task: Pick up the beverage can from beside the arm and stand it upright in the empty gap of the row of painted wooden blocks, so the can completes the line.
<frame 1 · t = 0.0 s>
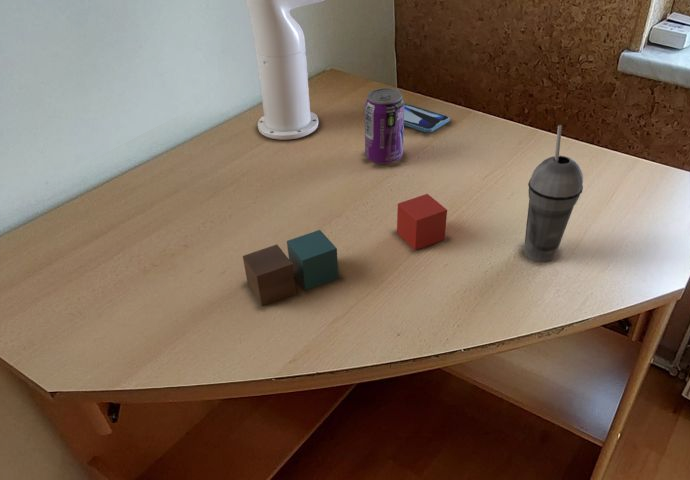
block b: (314, 274, 94), on the table
beverage cup: (539, 254, 94), on the table
block c: (420, 236, 99), on the table
smartphone: (410, 119, 128), on the table
beverage can: (383, 158, 117), on the table
block a: (271, 289, 92), on the table
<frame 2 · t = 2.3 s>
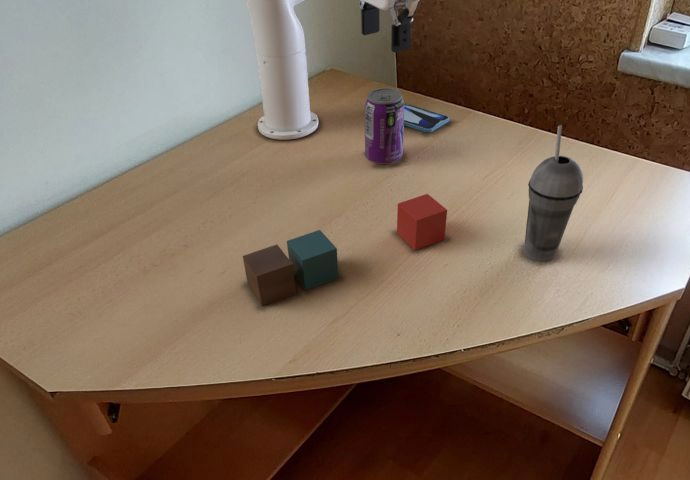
hand: (385, 41, 102), 21 cm above the table, tool pointing down, fingers open, 9 cm apart
nothing on the table moved.
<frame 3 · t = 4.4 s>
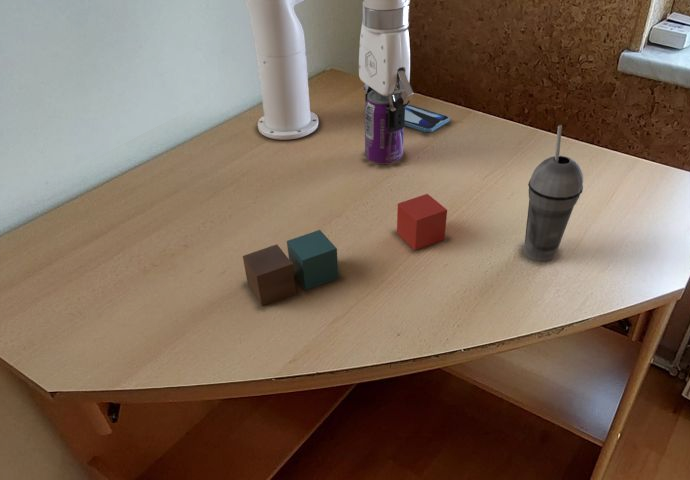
hand: (384, 121, 112), 7 cm above the table, tool pointing down, fingers closed on beverage can, 7 cm apart
beverage can: (383, 158, 117), on the table, touching gripper
everything else where it was.
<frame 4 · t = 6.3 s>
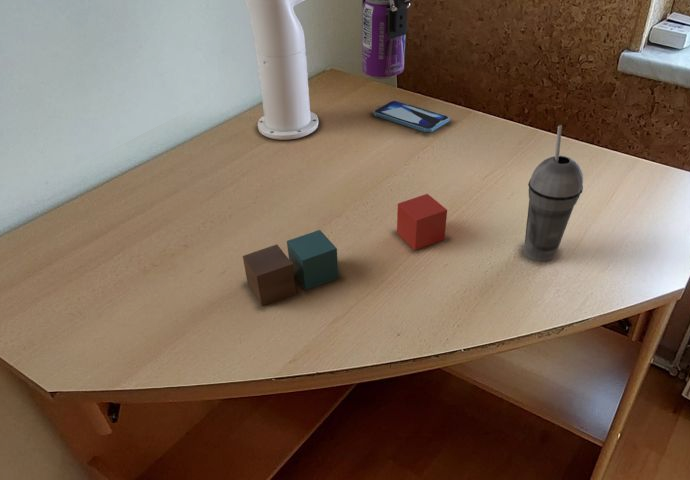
hand: (383, 28, 100), 23 cm above the table, tool pointing down, fingers closed on beverage can, 7 cm apart
beverage can: (382, 74, 106), point 16 cm above the table, touching gripper
everything else where it was.
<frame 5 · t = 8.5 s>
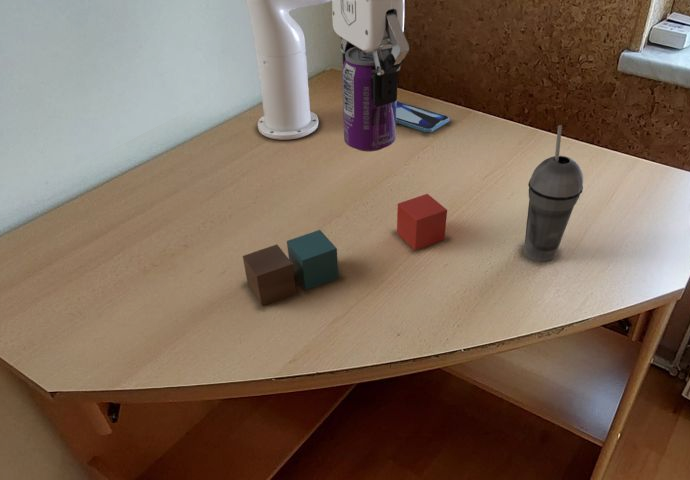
hand: (369, 91, 80), 24 cm above the table, tool pointing down, fingers closed on beverage can, 7 cm apart
beverage can: (369, 144, 86), point 17 cm above the table, touching gripper
everything else where it was.
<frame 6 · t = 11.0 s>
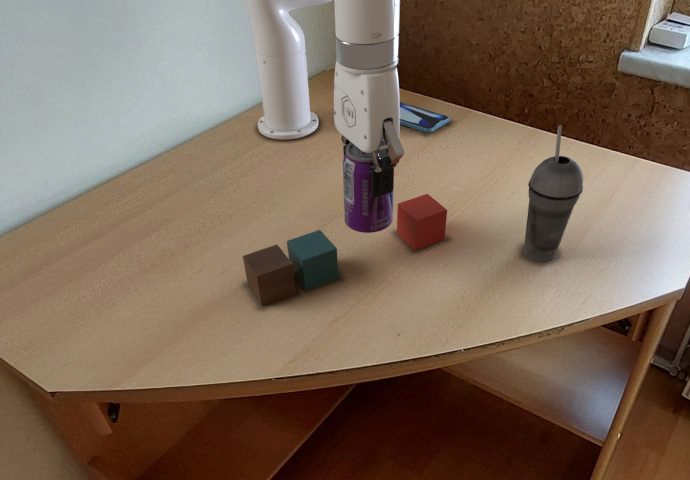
hand: (368, 180, 87), 13 cm above the table, tool pointing down, fingers closed on beverage can, 7 cm apart
beverage can: (368, 224, 92), point 6 cm above the table, touching gripper
everything else where it was.
when the fingers open (7 cm above the table, at t = 13.0 s): beverage can stays where it is, on the table.
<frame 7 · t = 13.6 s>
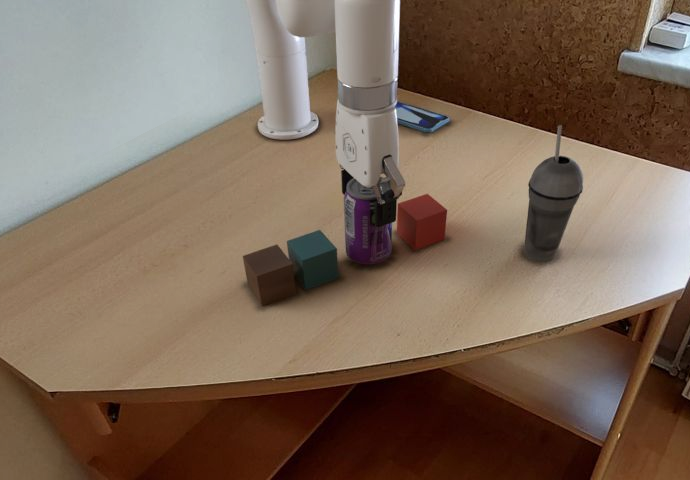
hand: (368, 207, 90), 9 cm above the table, tool pointing down, fingers open, 9 cm apart
beverage can: (368, 255, 96), on the table
everything else where it was.
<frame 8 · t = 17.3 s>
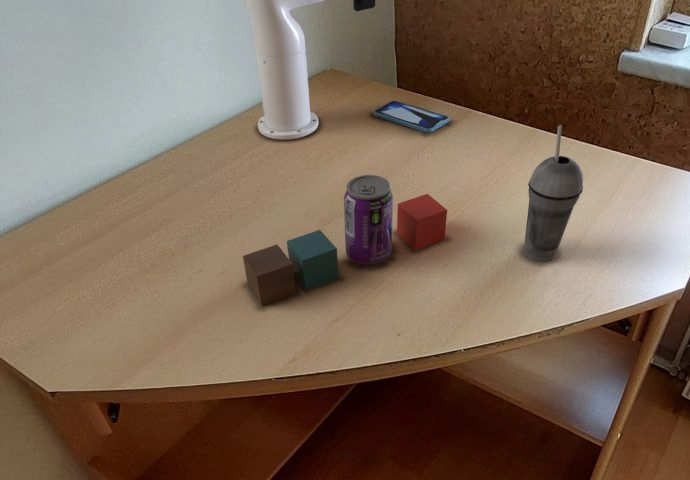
hand: (347, 0, 89), 30 cm above the table, tool pointing down, fingers open, 9 cm apart
nothing on the table moved.
at the end: beverage can 0.1 cm from the target spot on the table beside the block b, on the table; beverage can tilted 0°; block c moved 0.0 cm from its start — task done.
